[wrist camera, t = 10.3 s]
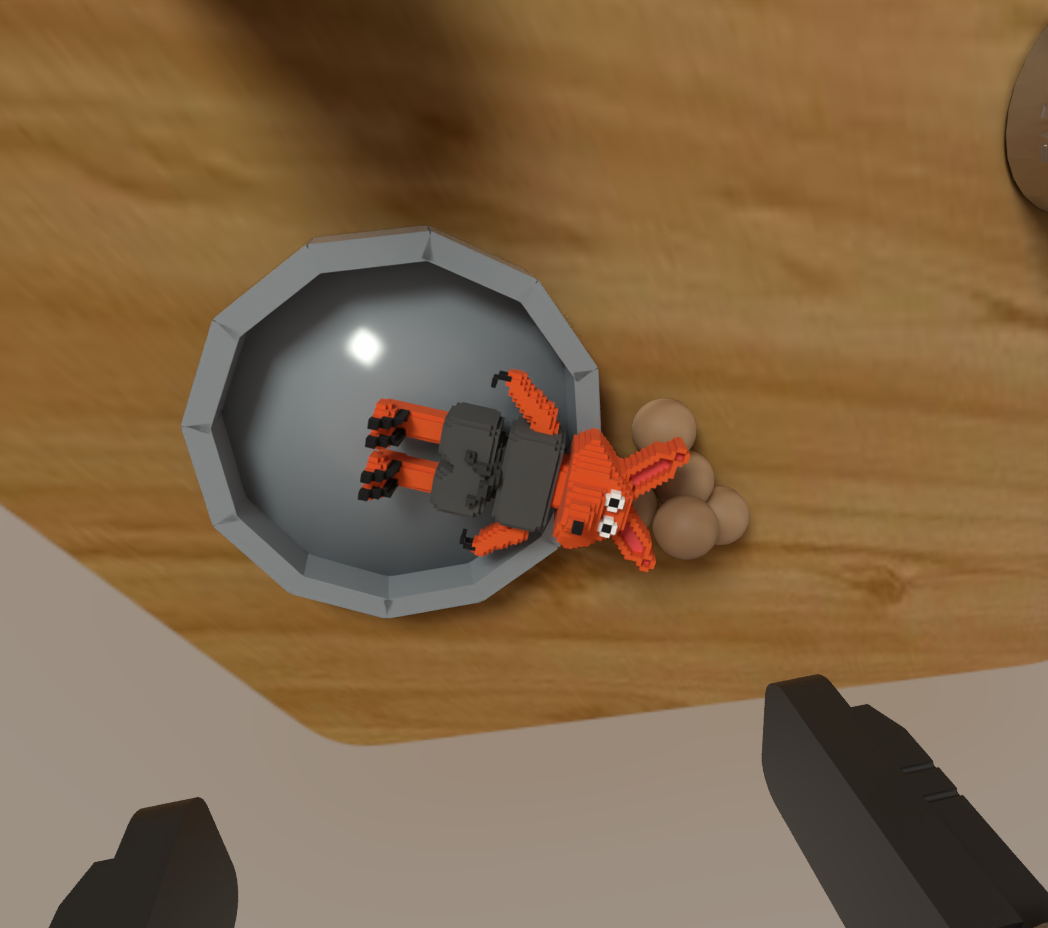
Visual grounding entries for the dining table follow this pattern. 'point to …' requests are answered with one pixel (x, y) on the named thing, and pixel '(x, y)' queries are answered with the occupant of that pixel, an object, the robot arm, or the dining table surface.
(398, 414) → the toy animal
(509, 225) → the dining table surface
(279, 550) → the dish
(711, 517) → the bead pile
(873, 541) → the dining table surface
